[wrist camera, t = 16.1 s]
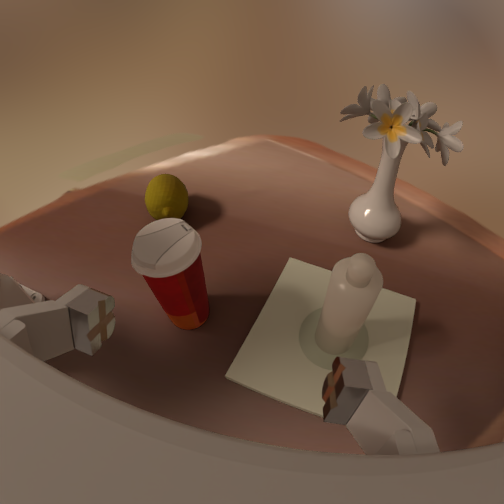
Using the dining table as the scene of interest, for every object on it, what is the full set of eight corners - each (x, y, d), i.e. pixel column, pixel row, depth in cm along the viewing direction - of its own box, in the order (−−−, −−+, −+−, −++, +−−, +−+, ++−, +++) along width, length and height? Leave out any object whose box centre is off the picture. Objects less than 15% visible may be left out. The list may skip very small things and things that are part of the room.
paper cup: (197, 280, 43) (177, 205, 33) (228, 315, 39) (214, 241, 29) (152, 308, 40) (116, 238, 30) (180, 348, 36) (144, 283, 26)
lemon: (192, 230, 51) (183, 192, 45) (149, 237, 50) (136, 201, 44) (191, 193, 58) (184, 159, 52) (153, 200, 57) (143, 167, 51)
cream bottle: (308, 346, 34) (328, 275, 24) (322, 314, 37) (343, 236, 27) (346, 360, 33) (384, 294, 22) (357, 326, 36) (392, 252, 25)
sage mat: (225, 378, 33) (224, 375, 32) (289, 261, 45) (290, 256, 44) (382, 435, 27) (385, 434, 26) (413, 303, 39) (416, 298, 38)
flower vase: (430, 253, 45) (483, 123, 26) (332, 260, 45) (362, 101, 26) (403, 205, 54) (434, 88, 35) (316, 207, 54) (329, 72, 35)
